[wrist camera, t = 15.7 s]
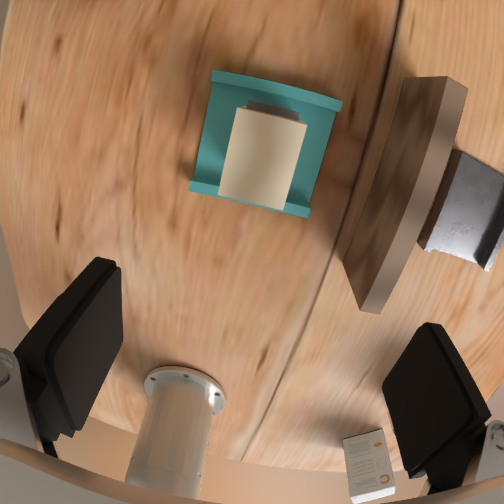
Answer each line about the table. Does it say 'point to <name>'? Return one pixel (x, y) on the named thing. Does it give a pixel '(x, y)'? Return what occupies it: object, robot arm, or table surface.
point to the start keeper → (467, 212)
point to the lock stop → (262, 154)
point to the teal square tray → (250, 88)
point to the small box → (368, 467)
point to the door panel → (403, 186)
